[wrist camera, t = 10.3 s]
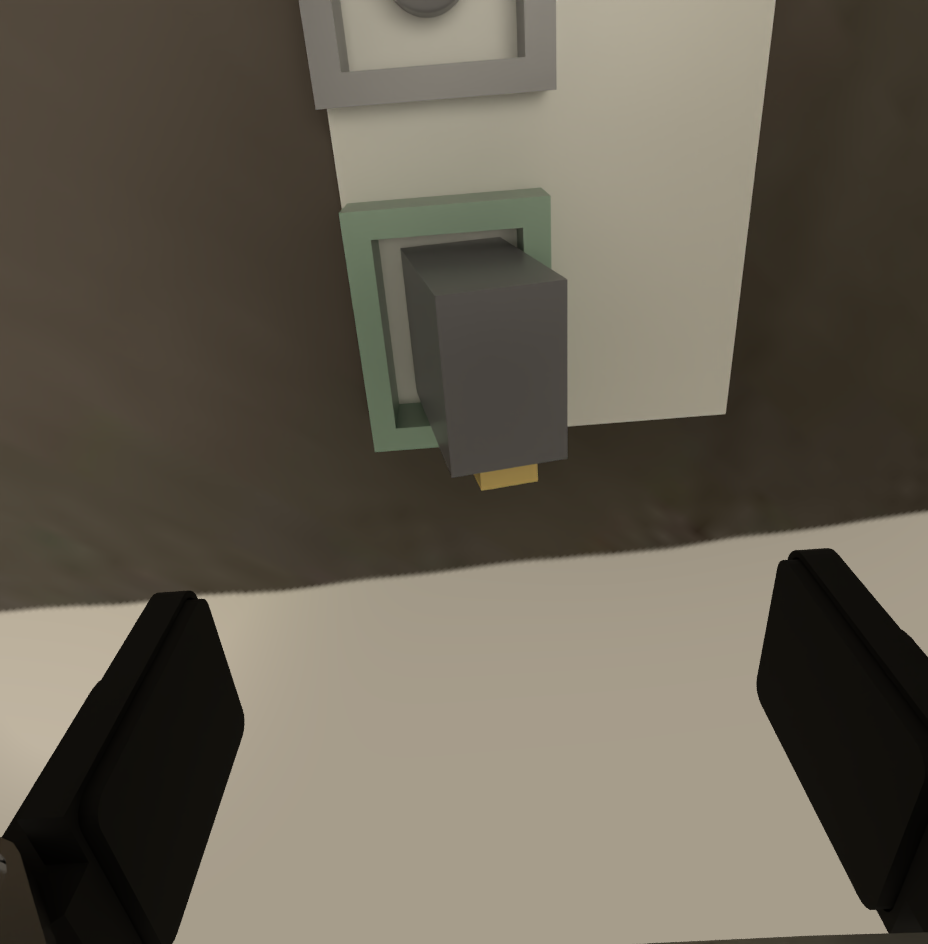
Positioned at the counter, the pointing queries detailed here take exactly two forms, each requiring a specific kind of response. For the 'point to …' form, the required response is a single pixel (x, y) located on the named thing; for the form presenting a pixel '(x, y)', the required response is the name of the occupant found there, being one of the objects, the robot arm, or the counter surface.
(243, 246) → the counter surface
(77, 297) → the counter surface
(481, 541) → the counter surface
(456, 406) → the plug
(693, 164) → the board
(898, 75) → the counter surface
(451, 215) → the green rectangular frame
